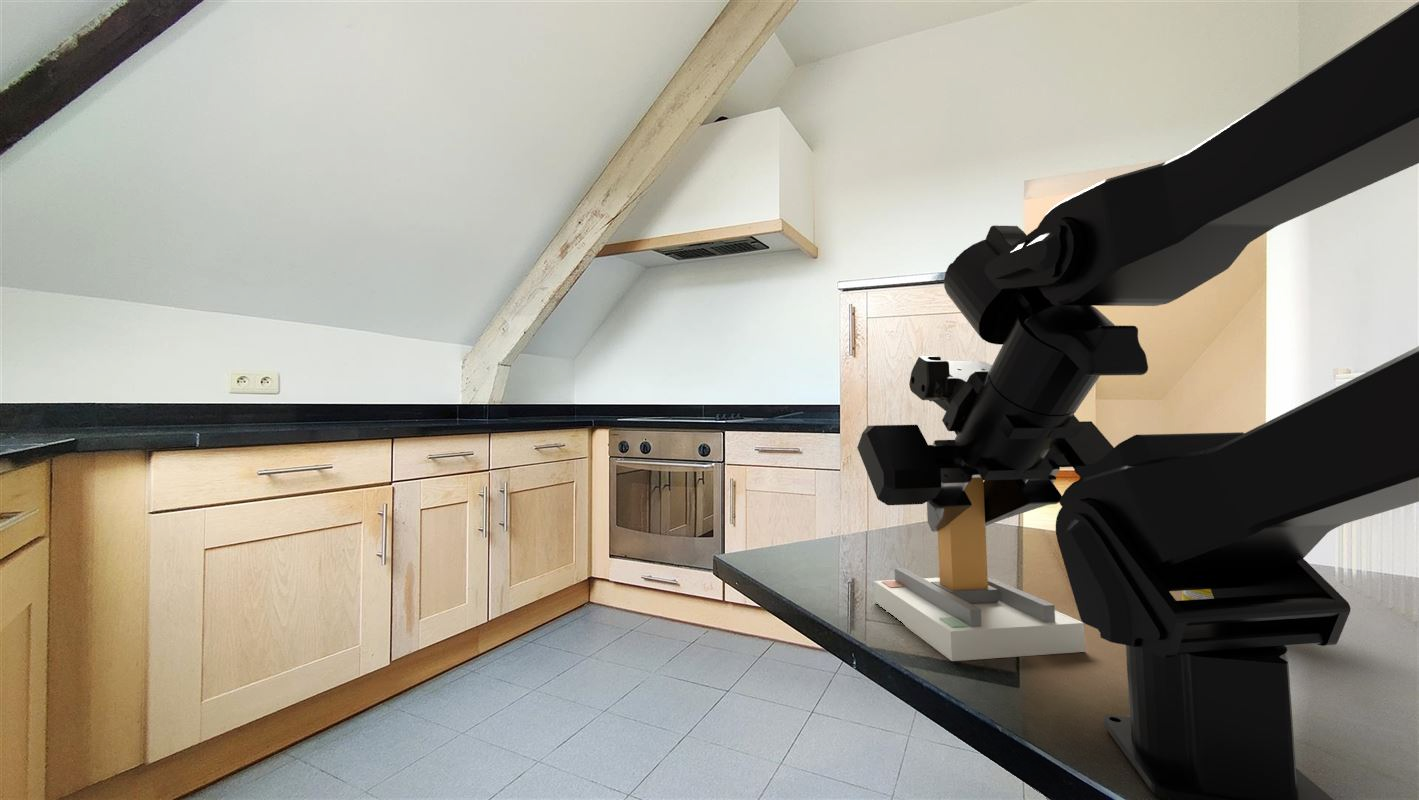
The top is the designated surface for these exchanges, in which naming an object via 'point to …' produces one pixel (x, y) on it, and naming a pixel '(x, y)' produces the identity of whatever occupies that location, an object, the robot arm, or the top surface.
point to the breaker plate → (979, 620)
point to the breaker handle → (966, 551)
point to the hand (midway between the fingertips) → (950, 526)
